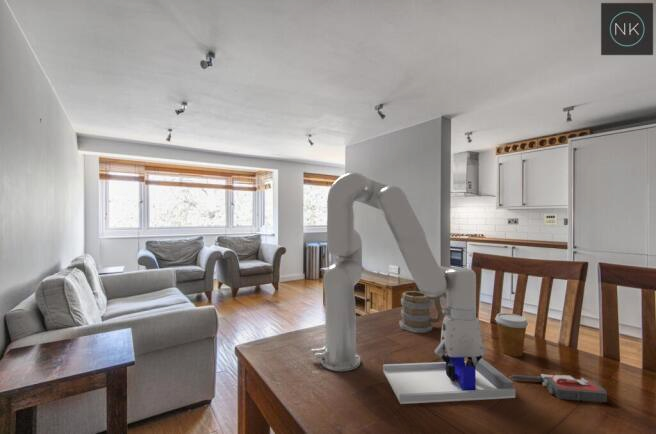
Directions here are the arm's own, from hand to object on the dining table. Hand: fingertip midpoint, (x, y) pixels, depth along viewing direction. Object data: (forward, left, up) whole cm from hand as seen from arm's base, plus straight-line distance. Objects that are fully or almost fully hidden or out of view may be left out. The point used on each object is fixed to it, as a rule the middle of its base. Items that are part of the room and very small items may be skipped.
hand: (460, 377), depth 82 cm
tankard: (+7, +41, -2) cm, 42 cm away
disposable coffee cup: (+27, +16, -2) cm, 32 cm away
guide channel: (-5, 0, -1) cm, 5 cm away
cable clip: (0, 0, -1) cm, 1 cm away
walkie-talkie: (+24, -6, -2) cm, 25 cm away
